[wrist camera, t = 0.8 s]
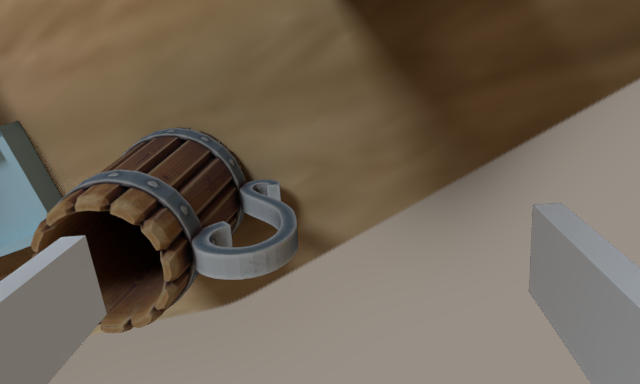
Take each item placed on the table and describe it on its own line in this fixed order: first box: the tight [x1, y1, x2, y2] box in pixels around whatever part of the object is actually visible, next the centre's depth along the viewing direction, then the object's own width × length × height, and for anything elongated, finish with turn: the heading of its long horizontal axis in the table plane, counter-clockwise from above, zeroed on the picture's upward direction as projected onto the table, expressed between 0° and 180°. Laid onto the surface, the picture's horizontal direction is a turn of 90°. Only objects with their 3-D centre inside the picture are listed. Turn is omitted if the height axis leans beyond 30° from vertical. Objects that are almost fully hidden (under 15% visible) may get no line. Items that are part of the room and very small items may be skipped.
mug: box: [31, 128, 298, 333], centre depth 33 cm, size 16×11×15 cm
